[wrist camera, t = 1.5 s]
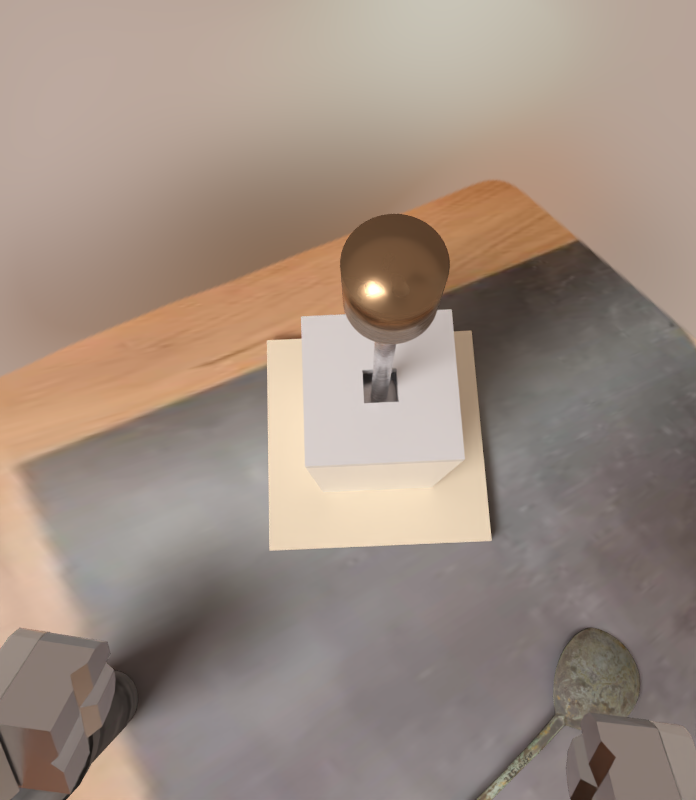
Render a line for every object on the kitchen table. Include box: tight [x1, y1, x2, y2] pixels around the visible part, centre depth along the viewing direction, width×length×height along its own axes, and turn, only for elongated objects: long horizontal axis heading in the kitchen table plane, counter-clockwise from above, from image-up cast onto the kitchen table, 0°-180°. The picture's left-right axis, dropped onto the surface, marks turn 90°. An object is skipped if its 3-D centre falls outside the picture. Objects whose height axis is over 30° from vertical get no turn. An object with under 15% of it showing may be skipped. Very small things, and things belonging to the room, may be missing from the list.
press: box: [267, 309, 492, 551], centre depth 44 cm, size 18×18×18 cm
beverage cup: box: [10, 671, 138, 800], centre depth 38 cm, size 7×7×20 cm
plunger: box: [340, 214, 450, 403], centre depth 29 cm, size 7×7×18 cm
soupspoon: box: [476, 628, 640, 800], centre depth 46 cm, size 22×3×7 cm
